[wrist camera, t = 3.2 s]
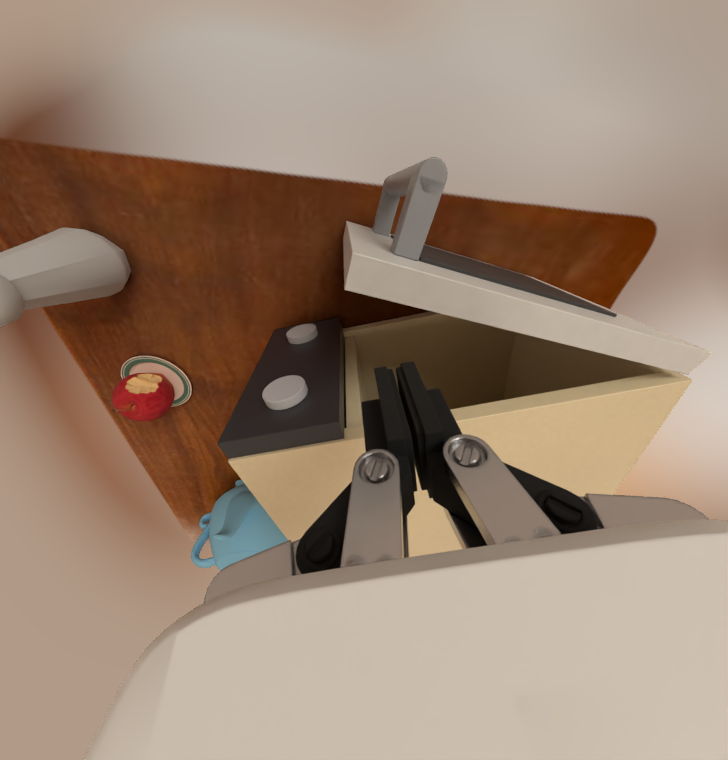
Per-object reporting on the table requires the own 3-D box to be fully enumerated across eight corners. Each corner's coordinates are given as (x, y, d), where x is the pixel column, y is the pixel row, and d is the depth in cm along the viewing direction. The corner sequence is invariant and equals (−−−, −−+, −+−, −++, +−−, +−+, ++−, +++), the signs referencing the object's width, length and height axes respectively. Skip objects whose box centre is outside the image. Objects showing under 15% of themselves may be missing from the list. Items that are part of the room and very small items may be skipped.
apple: (108, 360, 32) (62, 392, 27) (171, 348, 32) (137, 379, 26) (149, 408, 37) (117, 444, 31) (204, 398, 36) (181, 433, 31)
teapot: (277, 525, 57) (260, 607, 46) (192, 489, 48) (145, 582, 36) (330, 495, 52) (327, 579, 41) (247, 448, 43) (213, 540, 31)
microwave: (272, 322, 31) (208, 437, 16) (529, 271, 29) (716, 345, 15) (325, 454, 45) (318, 579, 30) (501, 423, 43) (583, 539, 29)
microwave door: (356, 166, 23) (382, 115, 9) (556, 236, 27) (797, 280, 13) (342, 238, 26) (344, 290, 12) (523, 290, 30) (687, 375, 16)
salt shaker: (128, 229, 25) (-35, 253, 14) (149, 290, 28) (31, 348, 17) (57, 221, 24) (-170, 241, 13) (88, 285, 27) (-76, 342, 16)
